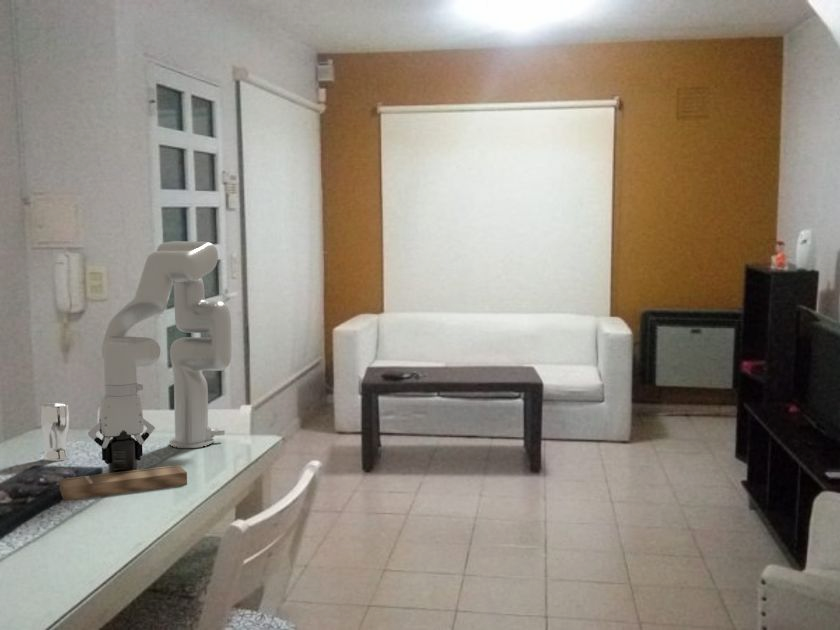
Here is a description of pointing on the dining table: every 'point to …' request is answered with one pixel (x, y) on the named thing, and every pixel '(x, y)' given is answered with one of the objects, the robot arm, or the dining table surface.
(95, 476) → the walnut plank
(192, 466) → the dining table surface
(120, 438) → the supplement bottle
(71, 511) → the dining table surface
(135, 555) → the dining table surface
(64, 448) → the beer glass
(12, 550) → the dining table surface
